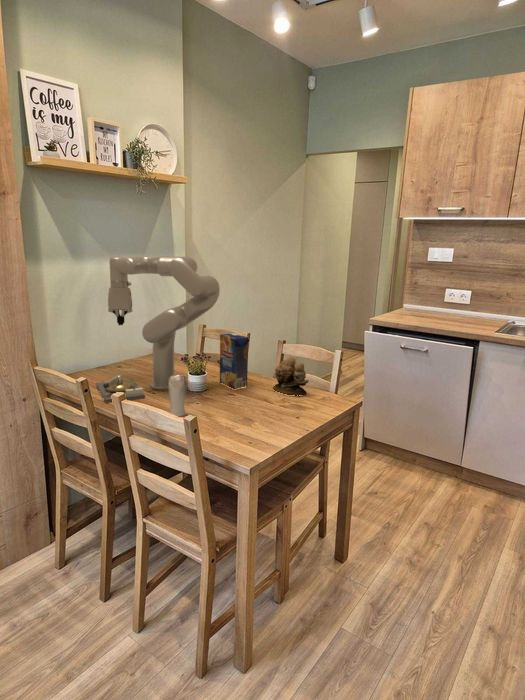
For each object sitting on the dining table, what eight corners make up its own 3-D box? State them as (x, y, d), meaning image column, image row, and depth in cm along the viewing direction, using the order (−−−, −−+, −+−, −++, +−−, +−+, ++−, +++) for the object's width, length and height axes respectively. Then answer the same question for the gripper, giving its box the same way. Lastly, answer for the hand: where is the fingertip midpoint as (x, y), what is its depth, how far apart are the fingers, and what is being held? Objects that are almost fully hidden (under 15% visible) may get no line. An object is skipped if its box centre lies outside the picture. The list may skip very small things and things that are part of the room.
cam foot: (114, 382, 202) (113, 370, 200) (138, 385, 199) (138, 373, 198) (92, 395, 185) (91, 382, 184) (118, 398, 183) (117, 384, 181)
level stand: (132, 382, 209) (131, 374, 208) (144, 398, 189) (144, 389, 188) (96, 386, 202) (95, 378, 201) (105, 403, 181) (105, 394, 180)
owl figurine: (313, 393, 203) (316, 357, 199) (299, 400, 194) (301, 362, 190) (281, 384, 213) (283, 350, 209) (266, 390, 204) (268, 354, 200)
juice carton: (247, 387, 207) (248, 337, 201) (234, 390, 202) (235, 339, 197) (232, 381, 216) (233, 332, 210) (219, 383, 211) (220, 334, 206)
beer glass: (188, 411, 176) (188, 375, 172) (184, 418, 169) (183, 380, 165) (171, 410, 176) (171, 374, 173) (166, 417, 169) (165, 379, 166)
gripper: (137, 284, 205) (138, 323, 209) (104, 283, 203) (106, 323, 208) (134, 286, 198) (136, 326, 202) (100, 285, 196) (102, 326, 200)
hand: (120, 324), depth 205 cm, fingers closed
